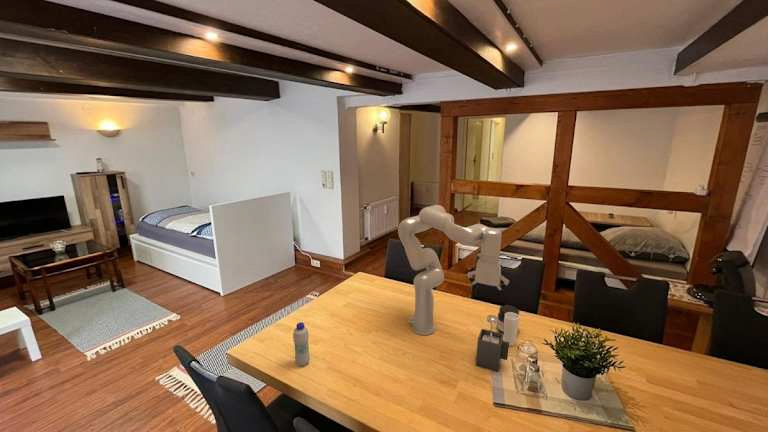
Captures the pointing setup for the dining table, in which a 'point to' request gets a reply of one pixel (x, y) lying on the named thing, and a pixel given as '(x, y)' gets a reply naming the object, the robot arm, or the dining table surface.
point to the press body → (491, 351)
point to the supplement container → (501, 315)
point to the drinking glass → (510, 327)
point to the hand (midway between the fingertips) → (486, 294)
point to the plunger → (491, 330)
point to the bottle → (301, 344)
